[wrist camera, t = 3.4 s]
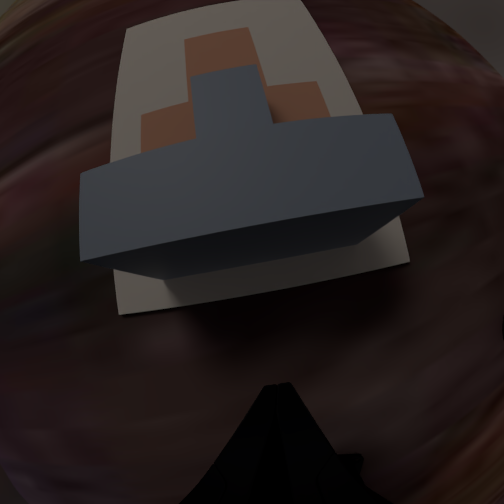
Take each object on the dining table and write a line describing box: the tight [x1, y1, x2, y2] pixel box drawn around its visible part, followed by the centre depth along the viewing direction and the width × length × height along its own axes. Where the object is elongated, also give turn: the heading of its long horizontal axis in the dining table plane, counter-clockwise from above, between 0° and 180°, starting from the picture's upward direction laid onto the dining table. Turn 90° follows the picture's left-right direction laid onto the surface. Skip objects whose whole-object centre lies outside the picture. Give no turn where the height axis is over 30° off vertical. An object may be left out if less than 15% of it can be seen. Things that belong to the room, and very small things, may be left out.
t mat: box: [110, 0, 410, 315], centre depth 23 cm, size 34×22×1 cm, turn 10°
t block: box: [79, 64, 424, 280], centre depth 16 cm, size 14×14×10 cm
